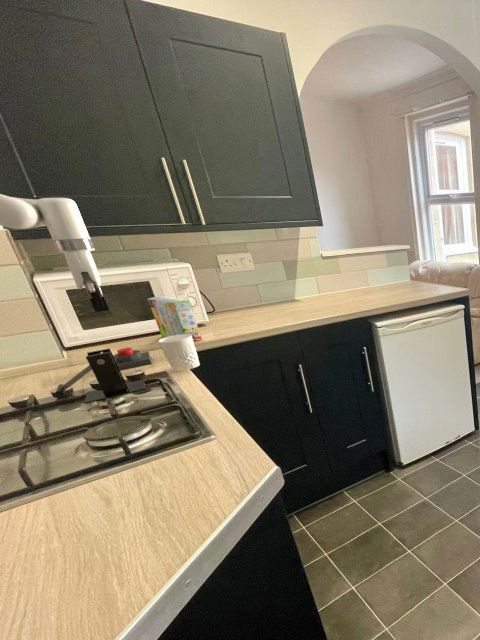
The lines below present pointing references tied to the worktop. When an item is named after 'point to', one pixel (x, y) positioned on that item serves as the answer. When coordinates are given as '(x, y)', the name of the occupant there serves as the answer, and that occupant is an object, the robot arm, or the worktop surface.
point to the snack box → (174, 316)
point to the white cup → (180, 352)
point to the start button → (125, 351)
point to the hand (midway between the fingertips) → (102, 310)
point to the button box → (133, 360)
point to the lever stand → (109, 377)
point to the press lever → (72, 381)
